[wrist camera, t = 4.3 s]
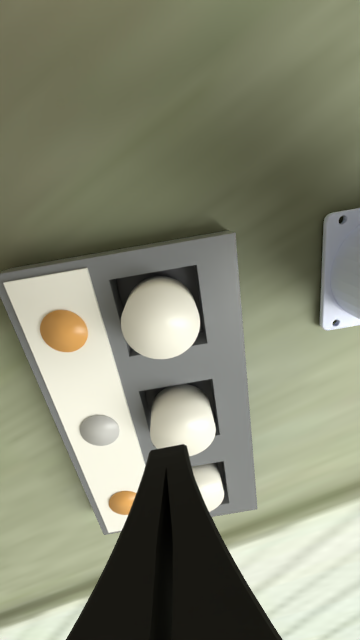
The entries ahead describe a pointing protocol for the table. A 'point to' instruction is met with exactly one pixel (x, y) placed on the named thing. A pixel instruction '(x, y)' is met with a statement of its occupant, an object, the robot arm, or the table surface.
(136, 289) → the button
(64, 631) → the table surface
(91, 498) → the button board
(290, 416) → the table surface
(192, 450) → the button
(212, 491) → the button
